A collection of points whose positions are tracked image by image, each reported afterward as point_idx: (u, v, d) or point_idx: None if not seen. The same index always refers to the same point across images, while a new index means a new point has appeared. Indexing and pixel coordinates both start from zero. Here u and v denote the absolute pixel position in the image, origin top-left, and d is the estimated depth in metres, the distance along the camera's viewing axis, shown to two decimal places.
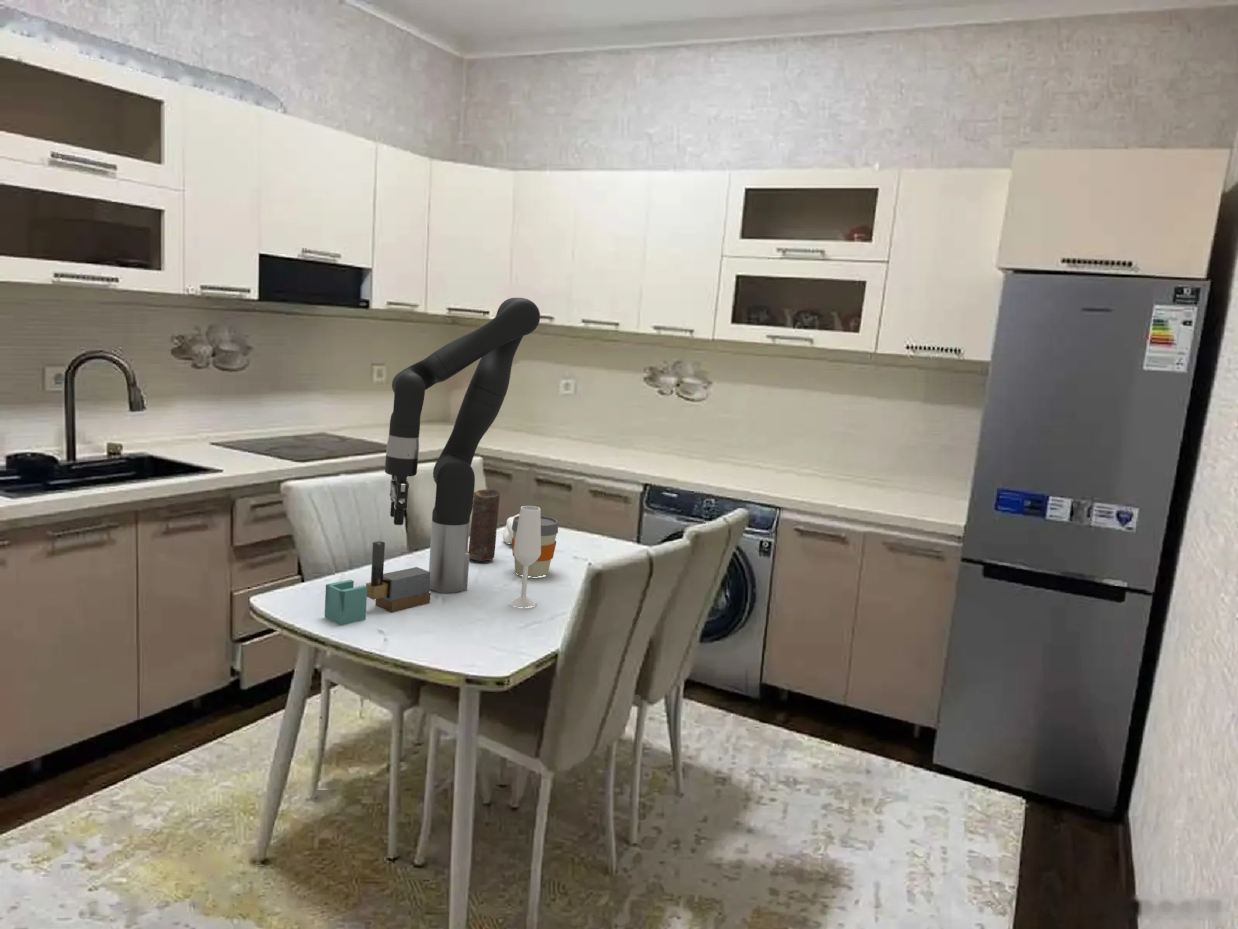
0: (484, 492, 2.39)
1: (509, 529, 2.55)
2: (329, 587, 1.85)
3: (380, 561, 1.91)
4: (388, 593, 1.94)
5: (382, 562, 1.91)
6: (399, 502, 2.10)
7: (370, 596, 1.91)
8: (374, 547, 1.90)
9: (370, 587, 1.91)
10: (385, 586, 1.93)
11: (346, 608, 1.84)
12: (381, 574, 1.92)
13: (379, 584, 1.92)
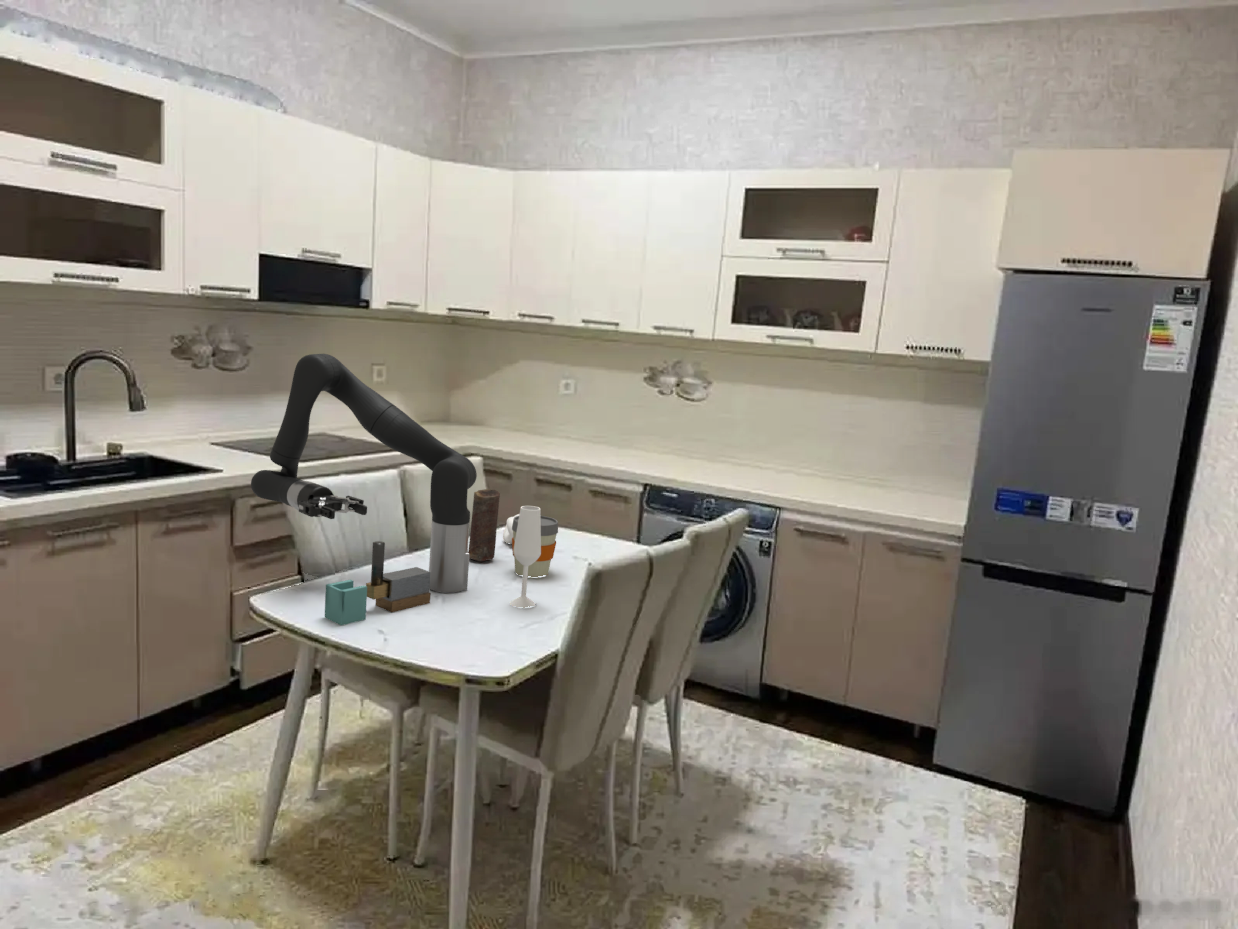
0: (484, 492, 2.39)
1: (509, 529, 2.55)
2: (329, 587, 1.85)
3: (380, 561, 1.91)
4: (388, 593, 1.94)
5: (382, 562, 1.91)
6: (355, 504, 2.02)
7: (370, 596, 1.91)
8: (374, 547, 1.90)
9: (370, 587, 1.91)
10: (385, 586, 1.93)
11: (346, 608, 1.84)
12: (381, 574, 1.92)
13: (379, 584, 1.92)
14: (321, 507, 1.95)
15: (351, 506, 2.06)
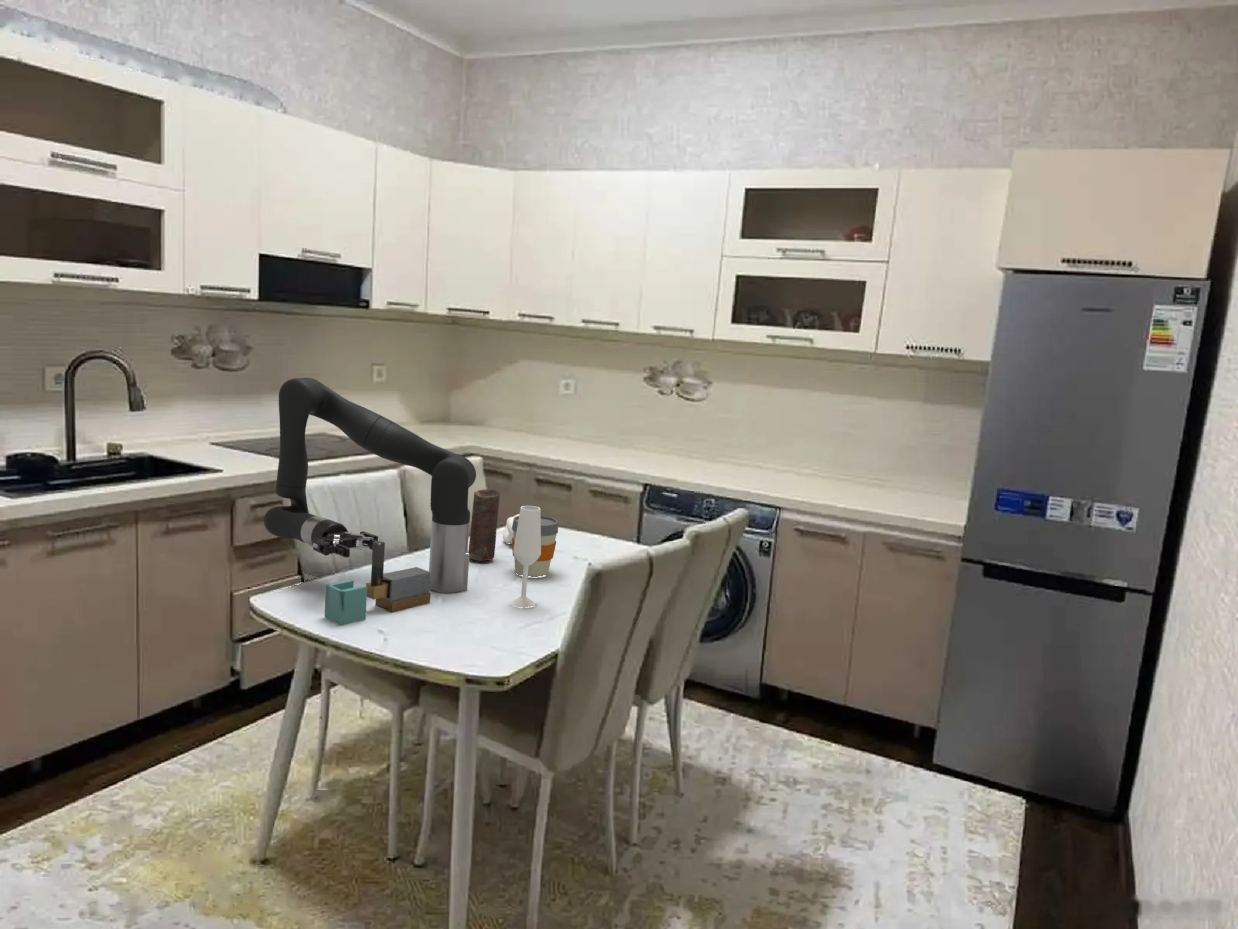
0: (484, 492, 2.39)
1: (509, 529, 2.55)
2: (329, 587, 1.85)
3: (380, 561, 1.91)
4: (388, 593, 1.94)
5: (382, 562, 1.91)
6: (369, 540, 2.00)
7: (370, 596, 1.91)
8: (374, 547, 1.90)
9: (370, 587, 1.91)
10: (385, 586, 1.93)
11: (346, 608, 1.84)
12: (381, 574, 1.92)
13: (379, 584, 1.92)
14: (336, 545, 1.93)
15: (365, 542, 2.04)
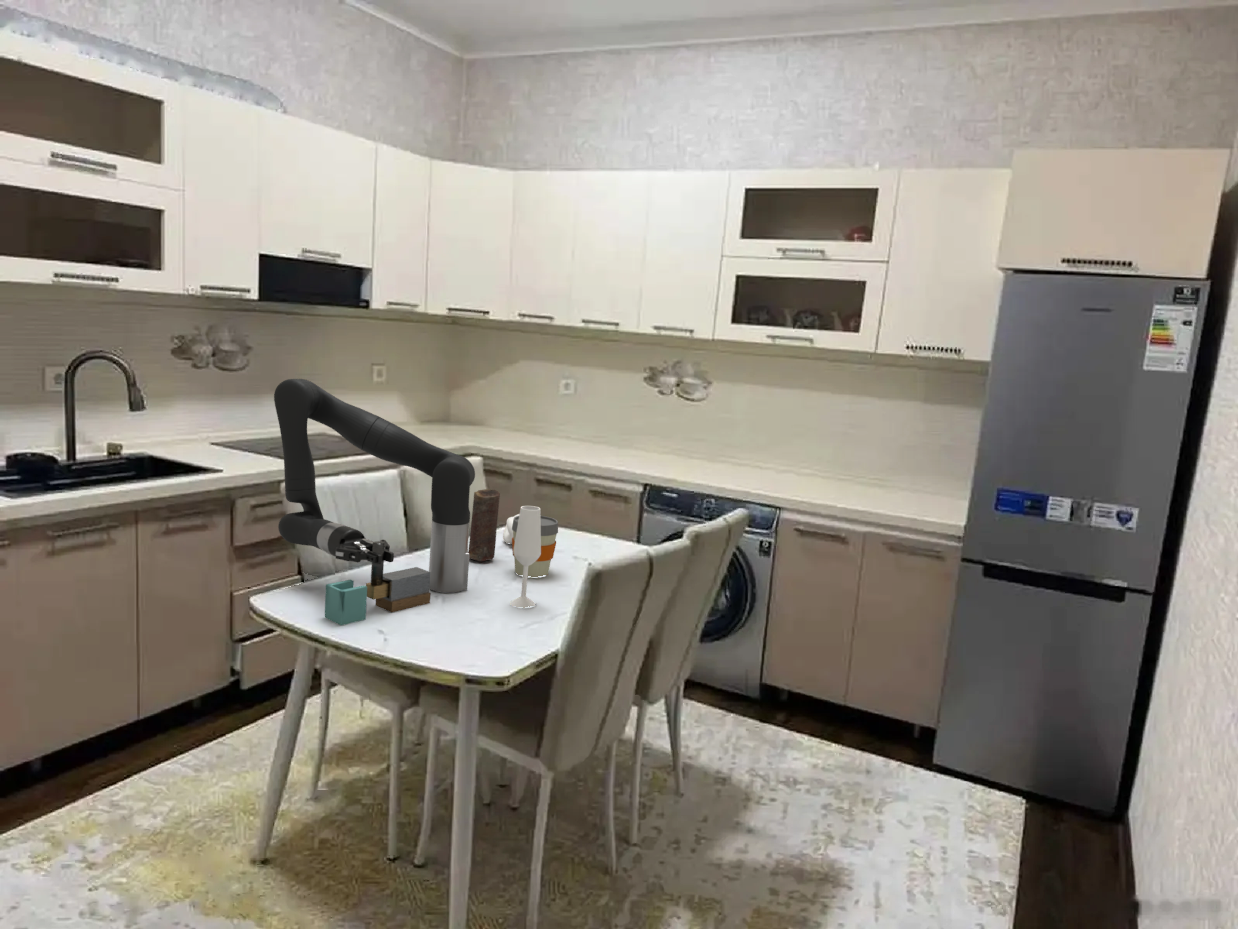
0: (484, 492, 2.39)
1: (509, 529, 2.55)
2: (329, 587, 1.85)
3: None
4: (388, 593, 1.94)
5: (382, 562, 1.91)
6: None
7: (370, 596, 1.91)
8: (374, 547, 1.90)
9: (370, 587, 1.91)
10: (385, 586, 1.93)
11: (346, 608, 1.84)
12: (381, 574, 1.92)
13: (379, 584, 1.92)
14: (368, 552, 1.90)
15: None
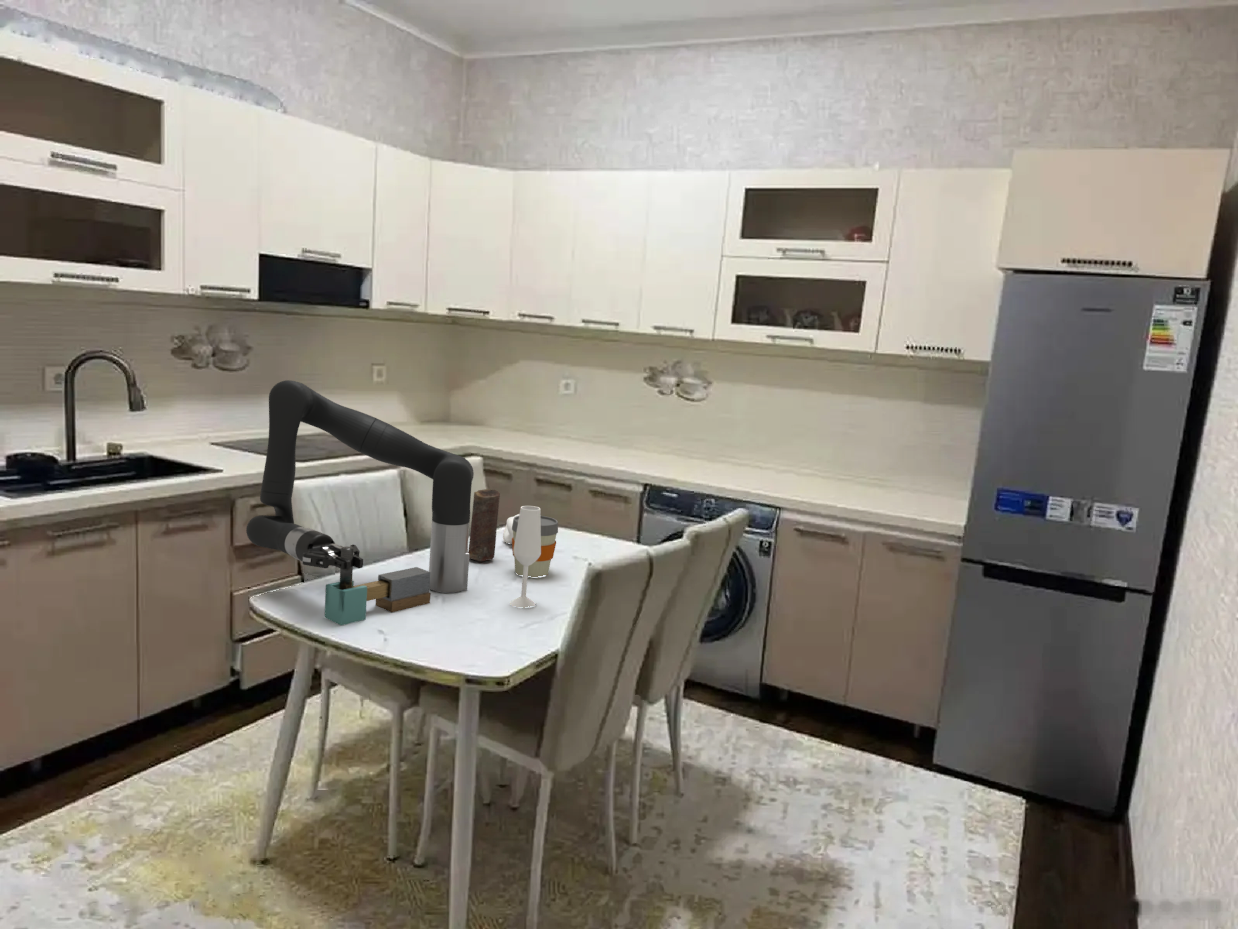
0: (484, 492, 2.39)
1: (509, 529, 2.55)
2: (329, 587, 1.85)
3: None
4: None
5: (351, 568, 1.85)
6: None
7: None
8: (342, 553, 1.84)
9: None
10: None
11: (346, 608, 1.84)
12: (350, 580, 1.85)
13: None
14: (336, 557, 1.84)
15: None
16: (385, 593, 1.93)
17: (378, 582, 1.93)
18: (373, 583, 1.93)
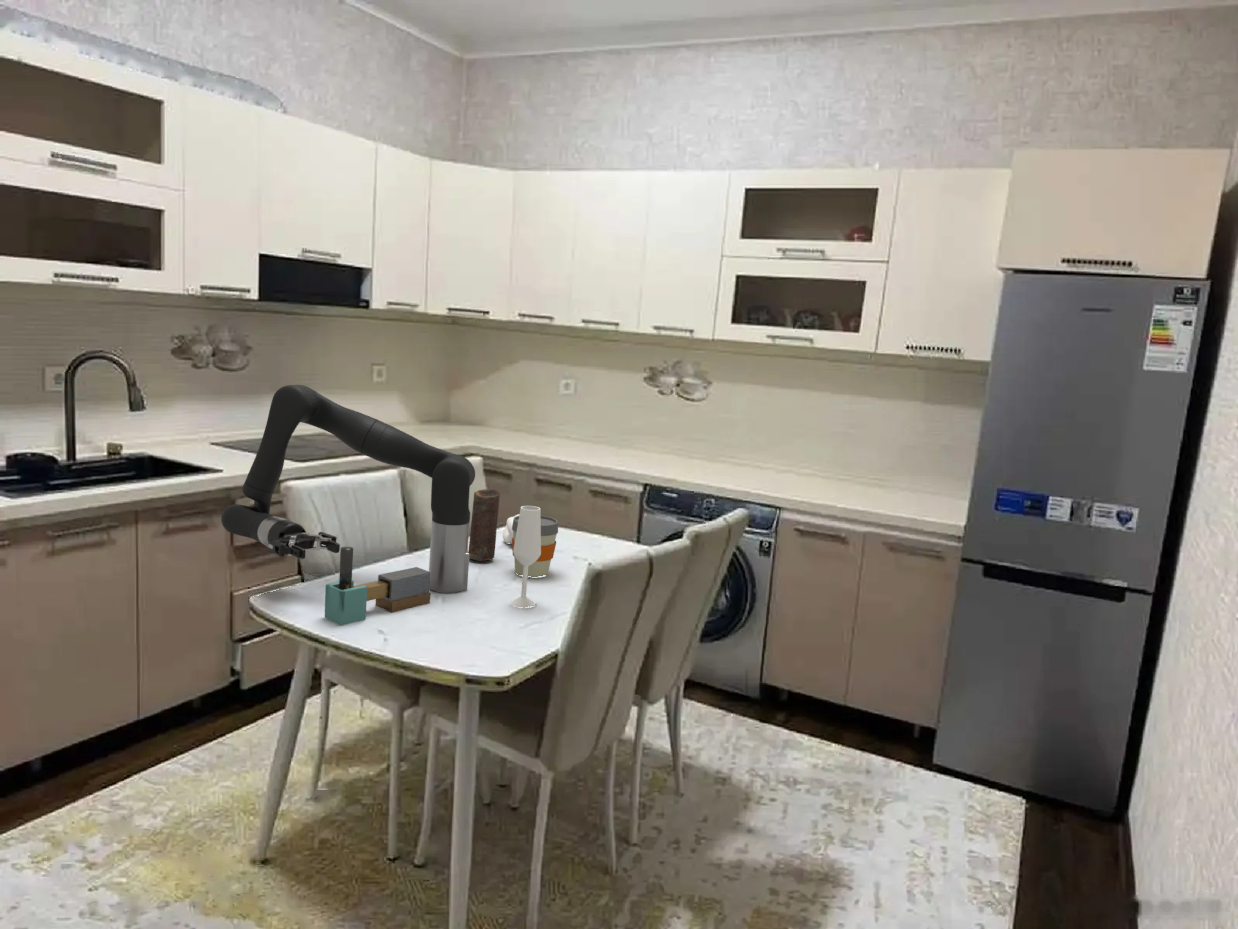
0: (484, 492, 2.39)
1: (509, 529, 2.55)
2: (329, 587, 1.85)
3: (348, 567, 1.84)
4: None
5: (350, 568, 1.85)
6: (327, 541, 1.96)
7: None
8: (342, 553, 1.84)
9: None
10: None
11: (346, 608, 1.84)
12: (349, 580, 1.85)
13: None
14: (291, 546, 1.89)
15: (324, 543, 2.00)
16: (384, 593, 1.93)
17: (378, 582, 1.93)
18: (372, 583, 1.92)
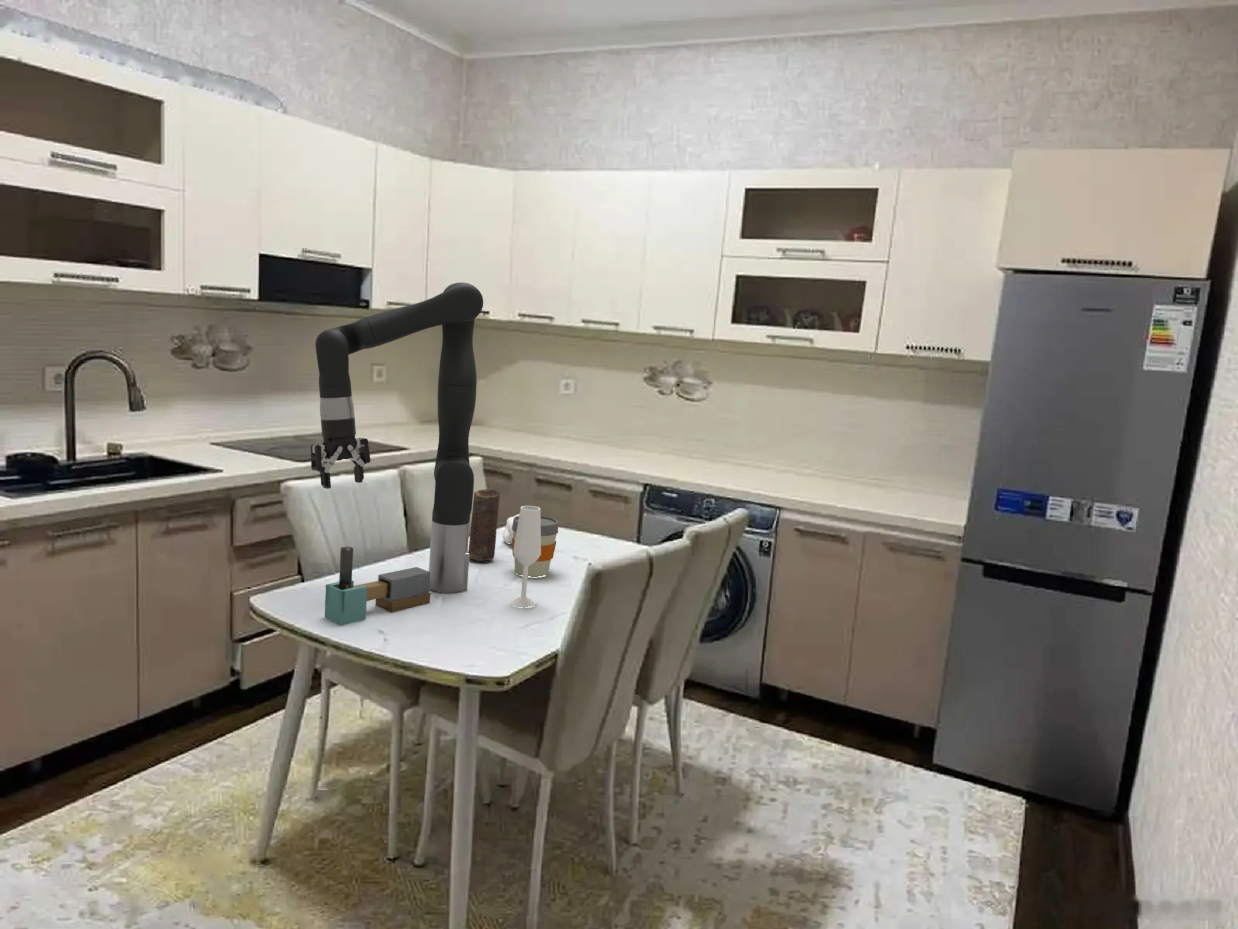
0: (484, 492, 2.39)
1: (509, 529, 2.55)
2: (329, 587, 1.85)
3: (348, 567, 1.84)
4: None
5: (350, 568, 1.85)
6: (358, 467, 2.02)
7: None
8: (342, 553, 1.84)
9: None
10: None
11: (346, 608, 1.84)
12: (349, 580, 1.85)
13: None
14: (325, 472, 1.95)
15: (359, 449, 2.04)
16: (384, 593, 1.93)
17: (378, 582, 1.93)
18: (372, 583, 1.92)
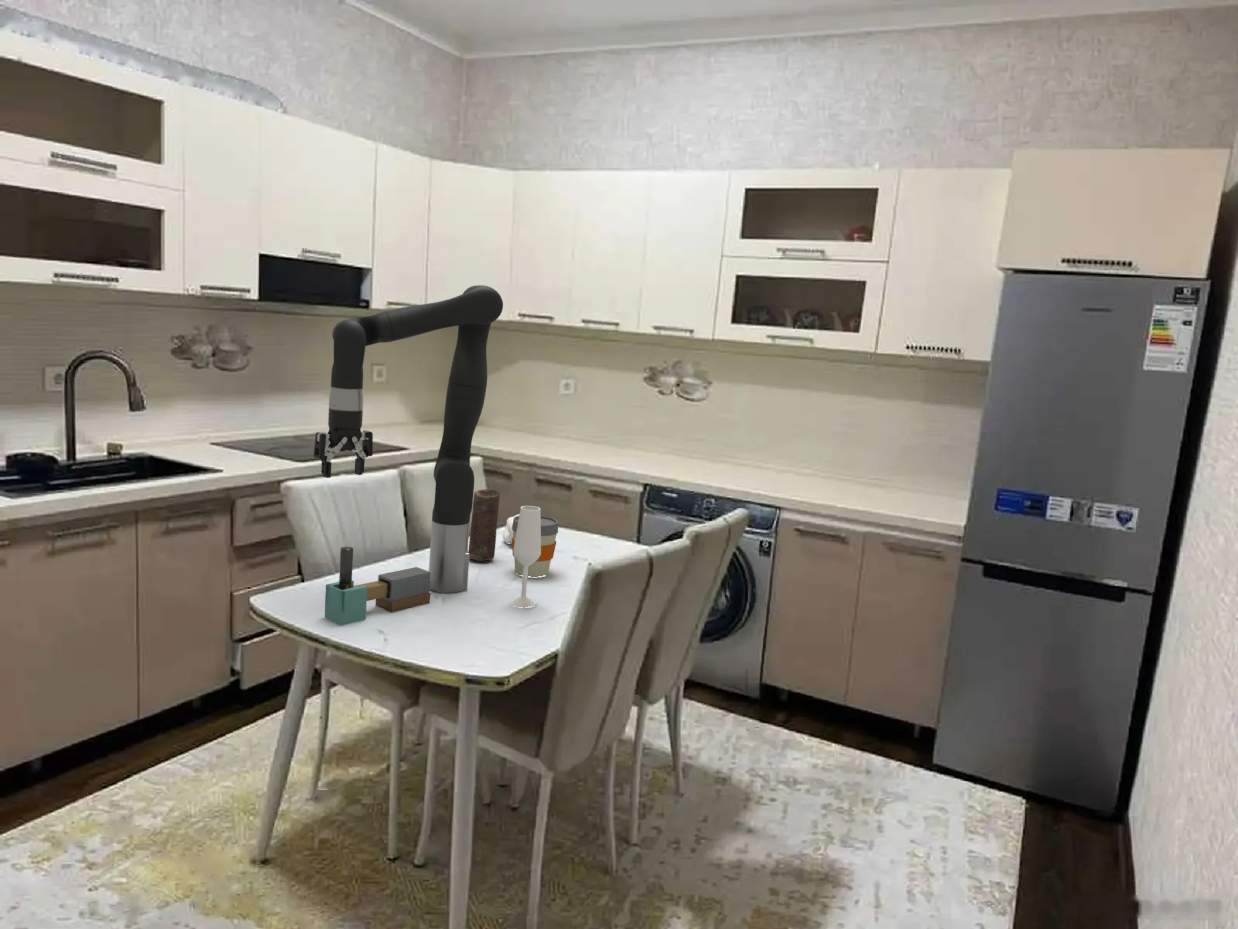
0: (484, 492, 2.39)
1: (509, 529, 2.55)
2: (329, 587, 1.85)
3: (348, 567, 1.84)
4: None
5: (350, 568, 1.85)
6: (360, 459, 2.02)
7: None
8: (342, 553, 1.84)
9: None
10: None
11: (346, 608, 1.84)
12: (349, 580, 1.85)
13: None
14: (327, 461, 1.95)
15: (363, 441, 2.04)
16: (384, 593, 1.93)
17: (378, 582, 1.93)
18: (372, 583, 1.92)
